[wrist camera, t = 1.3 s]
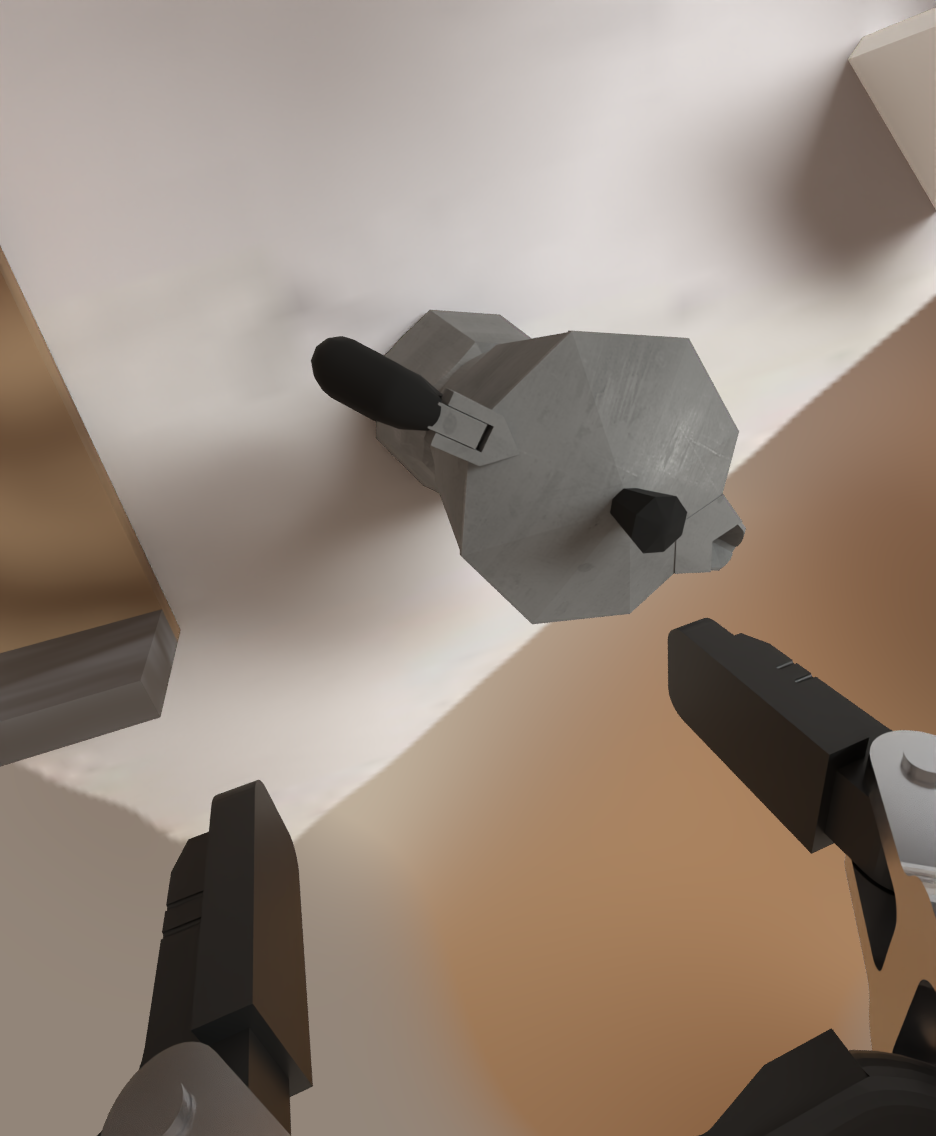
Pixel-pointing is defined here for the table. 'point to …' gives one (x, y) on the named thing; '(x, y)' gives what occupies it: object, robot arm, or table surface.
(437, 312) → the coffeepot
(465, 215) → the table surface
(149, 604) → the rail
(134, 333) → the table surface
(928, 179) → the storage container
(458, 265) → the table surface
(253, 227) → the table surface
